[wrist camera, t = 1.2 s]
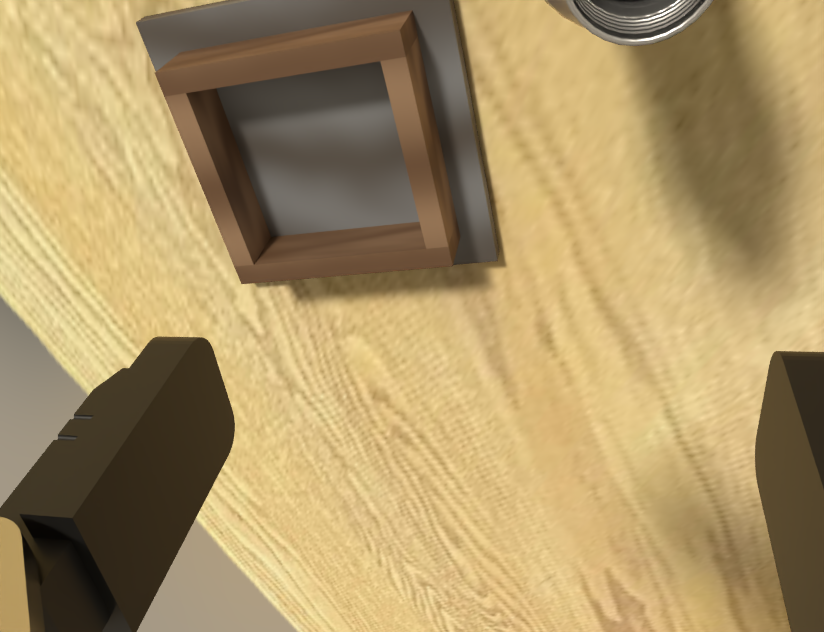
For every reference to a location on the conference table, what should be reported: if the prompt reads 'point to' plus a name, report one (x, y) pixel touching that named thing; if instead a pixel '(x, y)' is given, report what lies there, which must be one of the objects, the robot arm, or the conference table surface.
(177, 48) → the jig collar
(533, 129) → the conference table surface
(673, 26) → the plastic bottle
